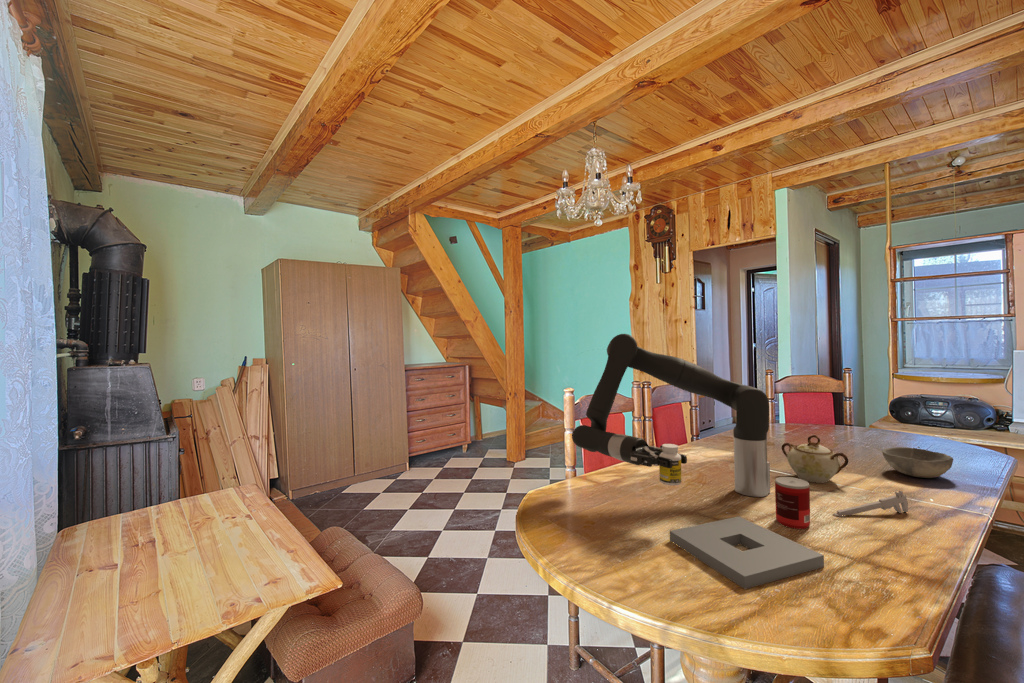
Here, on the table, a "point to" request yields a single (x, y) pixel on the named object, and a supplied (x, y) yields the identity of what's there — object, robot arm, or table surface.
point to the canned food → (792, 502)
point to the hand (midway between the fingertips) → (678, 461)
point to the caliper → (879, 505)
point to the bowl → (918, 461)
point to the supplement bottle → (672, 474)
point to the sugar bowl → (814, 461)
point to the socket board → (750, 567)
